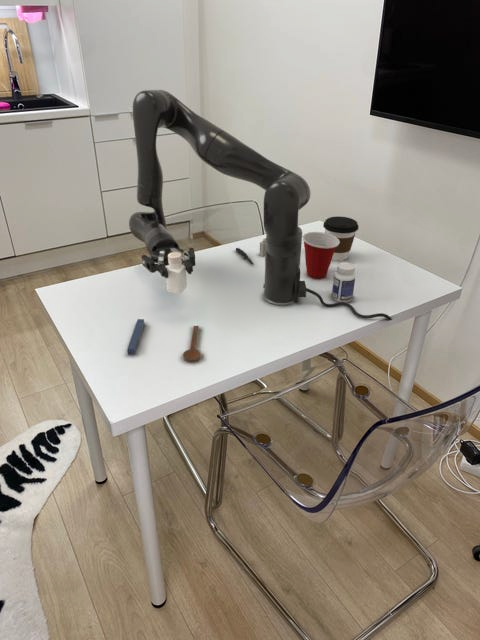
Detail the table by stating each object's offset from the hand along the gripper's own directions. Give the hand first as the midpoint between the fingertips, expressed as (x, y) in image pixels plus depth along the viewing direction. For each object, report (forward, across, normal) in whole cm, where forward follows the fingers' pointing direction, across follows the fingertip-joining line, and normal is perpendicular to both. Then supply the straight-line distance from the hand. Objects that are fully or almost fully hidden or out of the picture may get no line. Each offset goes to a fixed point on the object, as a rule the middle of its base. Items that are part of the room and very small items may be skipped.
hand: (178, 272), depth 117 cm
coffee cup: (-20, +58, +15) cm, 63 cm away
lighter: (-31, +38, +15) cm, 52 cm away
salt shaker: (-3, 0, +6) cm, 7 cm away
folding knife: (-30, +29, +15) cm, 44 cm away
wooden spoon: (+10, 0, +14) cm, 18 cm away
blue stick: (+3, -12, +14) cm, 19 cm away
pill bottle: (+4, +45, +15) cm, 47 cm away
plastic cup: (-11, +45, +15) cm, 49 cm away
